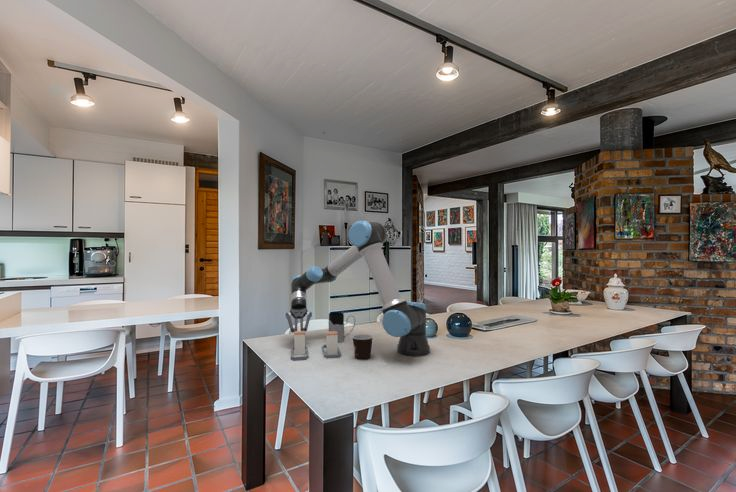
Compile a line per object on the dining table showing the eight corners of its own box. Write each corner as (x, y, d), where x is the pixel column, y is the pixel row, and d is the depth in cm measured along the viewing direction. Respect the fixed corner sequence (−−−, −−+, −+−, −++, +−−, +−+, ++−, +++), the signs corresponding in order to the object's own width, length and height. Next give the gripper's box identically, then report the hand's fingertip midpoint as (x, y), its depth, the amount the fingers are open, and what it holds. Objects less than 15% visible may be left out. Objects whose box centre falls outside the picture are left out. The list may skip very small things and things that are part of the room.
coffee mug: (370, 364, 144) (370, 340, 144) (350, 362, 146) (350, 338, 146) (375, 355, 156) (375, 333, 156) (356, 354, 158) (356, 332, 158)
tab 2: (326, 353, 156) (326, 331, 156) (336, 352, 157) (336, 331, 157) (326, 355, 152) (326, 333, 152) (337, 355, 152) (337, 333, 153)
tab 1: (294, 352, 156) (294, 331, 157) (304, 351, 157) (304, 330, 158) (294, 355, 152) (294, 333, 153) (305, 354, 153) (305, 332, 154)
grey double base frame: (290, 351, 162) (290, 346, 162) (337, 348, 167) (337, 343, 167) (290, 364, 144) (290, 358, 144) (342, 360, 149) (342, 354, 149)
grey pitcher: (326, 341, 179) (326, 312, 179) (353, 340, 182) (353, 311, 182) (328, 346, 170) (328, 315, 171) (357, 344, 174) (357, 314, 174)
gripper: (311, 306, 178) (313, 347, 162) (285, 307, 176) (284, 349, 159) (312, 297, 173) (313, 339, 157) (285, 298, 171) (283, 340, 154)
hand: (298, 344), depth 158 cm, fingers closed
